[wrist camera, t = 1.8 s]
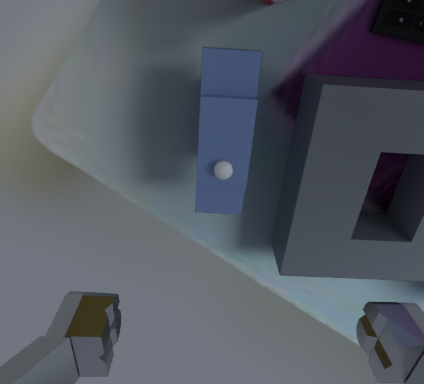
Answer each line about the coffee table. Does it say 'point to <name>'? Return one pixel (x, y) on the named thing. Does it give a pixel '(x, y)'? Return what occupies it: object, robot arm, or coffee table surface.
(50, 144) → the coffee table surface
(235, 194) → the block
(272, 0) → the ink box
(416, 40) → the calculator
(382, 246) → the plate
